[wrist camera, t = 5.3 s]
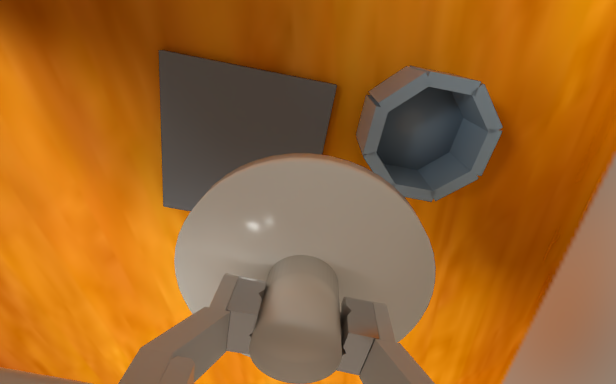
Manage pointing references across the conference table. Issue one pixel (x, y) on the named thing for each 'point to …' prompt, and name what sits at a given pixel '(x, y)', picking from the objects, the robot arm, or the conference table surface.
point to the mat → (231, 121)
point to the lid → (307, 255)
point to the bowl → (428, 131)
